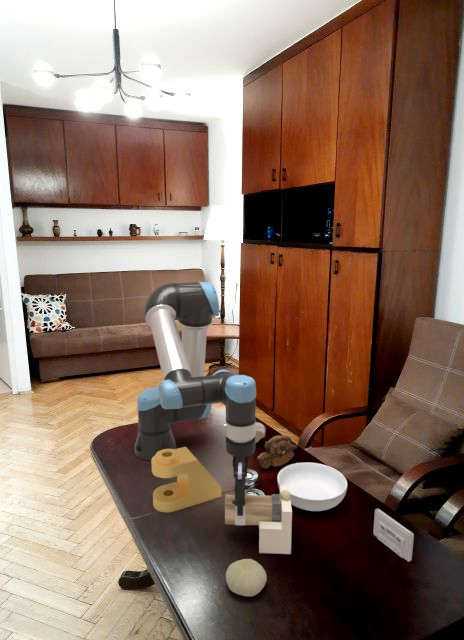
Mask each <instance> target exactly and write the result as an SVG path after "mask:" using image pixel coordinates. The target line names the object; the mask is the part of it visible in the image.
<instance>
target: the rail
mask: <svg viewBox="0 0 464 640" xmlns="http://www.w3.org/2000/svg"><path fill="white" fill-rule="evenodd" d="M233 500H235V494H225V500H224V524H225V525H235V504H232V501H233ZM245 501H246V506H245V525H244V526H259V521H262V522H280V493H278V494H277V493H274V494H273V493H272V494H271V495H264V494H263V495H258V494H256V495H255V494H246V495H245Z"/></svg>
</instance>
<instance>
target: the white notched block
mask: <svg viewBox="0 0 464 640" xmlns="http://www.w3.org/2000/svg"><path fill="white" fill-rule="evenodd" d="M279 497H280V522H262V521H259V525H258V531H259V532H258V536H259V537H258V549H259V550H258V553H259V554H276V555H277V554H278V555H279V554H280V555H281V554H282V555H292V527H293V525H292V521H293V509H292V504H291V500H290V497H291V494H290V492H289V486H280V490H279Z"/></svg>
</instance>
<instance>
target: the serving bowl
mask: <svg viewBox="0 0 464 640" xmlns="http://www.w3.org/2000/svg"><path fill="white" fill-rule="evenodd" d="M276 480H277V486H278V490H279V491H280V486H289V492H290V494H291V497H290V500H291V506H294V507H295V508H299V509H301V510H303V511H304V510H305V511H310V512H322V511H328V510H330V509H332V508H335V507H336V506H338V505H339V504H341V502H342V501H343V499H344V498H345V496H346V493H347V490H348V480H347V479H346V477H345V476H344V474H343V473H342V472H340V471H338V470H337V469H336V468H333V467H331V466H328V465H326V464H322V463H318V462H296V463H291V464H288V465H286V466H285V467H283V468H281V469H280V470H279V472H278V474H277V477H276Z"/></svg>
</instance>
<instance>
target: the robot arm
mask: <svg viewBox="0 0 464 640" xmlns="http://www.w3.org/2000/svg"><path fill="white" fill-rule="evenodd" d="M219 303H220V302H219V297H218V293H217V290H216V288H215V286H214V285H213V283H211V282H208V281H205V282H204V281H196V282H193V281H192V282H174V283H173V282H169V283H163V284H161V285H159V286H157V288H155V289H154V290H153V291H152V292H151V293H150V294H149V296H148V298H147V299H146V302H145V305H144V309H143V310H144V312H143V314H144V319H145V323H146V324H147V325H148V327H150V330H151V333H152V338H153V341H154V346H155V349H156V354H157V359H158V362H159V365H160V369H161V374H162V378H163V380H161V381H159V383H158V386H154V387H149V388H147V389H145V390H143V391H141V392H140V393H139V395H138V396H137V399H136V400H137V403H136V410H137V423H138V425H137V427H138V434H137V437H136V440H135V444H134V454H135V456H136V457H137V458H139V459H141V460H144V461H151V460H152V458H153V456H155V455H156V453H157V452H158V451H160V450H163V449H177V443H176V440H175V437H174V435H173V432H172V428H171V427H172V426H171V425H172V424H173V423H181V422H189V421H199V420H200V419H205V418H208V416H209V415H210V413H211V410H212V405H215V404H219V403H220V404H223V406H225V423H223V428H225V435H226V437H225V451H226V453H227V454H229V455H231V456H232V468H233V478H234V495H235V500H233V501H232V504H235V524H234V526H246V525H245V506H246V501H245V495H247V490H249V485H246V482H247V479H246V478H247V477H248V468H249V456H252V455H253V454H254V453H255V452H256V443H255V435H256V422H257V421H256V409H257V402H256V400H257V388H256V387H257V386H256V380H255V379H254V378H253V377H251V376H248V375H245V374H237V375H236V374H235V373H234V372H232V371H230V370H227V369H219V370H217V371H215V372H213V374H210V375H205V365H206V352H207V351H206V350H207V349H206V348H207V347H206V346H207V333H208V327H210V325H211V324H212V323H213V317H217V316H218V315H219V313H220V305H219ZM176 319H177V322H178V323H179V324H180V325H181V336H180V334H179V330H178V326H177V323H176Z"/></svg>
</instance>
